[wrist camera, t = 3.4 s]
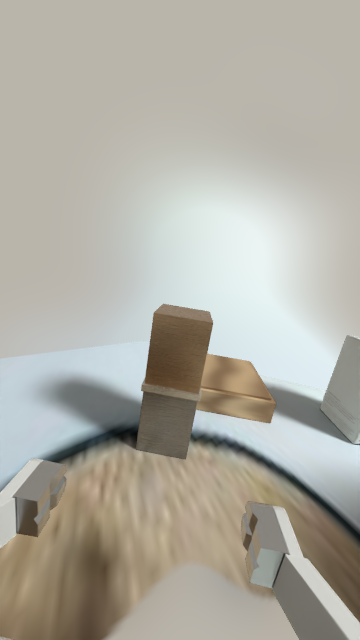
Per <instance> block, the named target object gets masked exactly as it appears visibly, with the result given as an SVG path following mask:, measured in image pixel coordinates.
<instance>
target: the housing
mask: <svg viewBox="0 0 360 640" xmlns="http://www.w3.org/2000/svg"><path fill="white" fill-rule="evenodd" d="M212 325H213V321H212V318H211V315H210V312H208V311H202V310H196V309H190V308H184V307H179V306H173V305H167V304H163V305H161V306H160V307H159V308H158V309H157V310H156V311H155V312H154V316H153V323H152V331H151V339H150V346H149V354H148V362H147V369H146V377H145V379H144V381H143V383H142V387H141V391H144V392H143V400H142V407H141V415H140V423H139V430H138V438H137V446H136V450H140V451H146V452H151V453H156V454H161V455H166V456H171V457H176V458H181V459H186V456H187V451H188V446H189V441H190V436H191V431H192V426H193V421H194V416H195V411H196V406H197V401H200V399H201V381H202V376H203V371H204V366H205V361H206V356H207V351H208V346H209V341H210V335H211V331H212Z"/></svg>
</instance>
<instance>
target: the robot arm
mask: <svg viewBox="0 0 360 640" xmlns="http://www.w3.org/2000/svg"><path fill="white" fill-rule="evenodd" d="M66 471H67V468H66V465H63V464H58V463H54V462H50V461H45V460H41V459H36V458H33V459H31V460H30V461H28V462H27V464H26V465H25V466H24V467H23V468H22V469H21V470H20V471H19V472H18V474H17V475H16V476H15V477H14V478H13V479H12V480H11V481H10V482H9V484H8V485H7V486H6V487H5V488H4V489H3V490H2V491H1V492H0V548H1V547H3V546H4V545H5V544H6V543H7V542H9V541H10V540H11V539H12V538H13V537H15V536H16V533H17V534H23V535H28V536H34V537H38V536H39V534H40V533H41V531H42V529H43V528H44V526H45V524H46V523H47V521H48V519H49V517H50V510H52V509H53V508H54V507H56V506H57V504H58V503H59V501H60V499H61V497H62V495H63V493H64V490H65V486H66V478H65V477H64V474H65V473H66ZM245 509H246V513H245V514H244V515H243V517H242V521H241V535H242V542H243V545H244V547H245V549H246V550H247V555H246V559H245V560H246V565H247V571H248V577H249V582H250V583H252V584H256V585H260V586H264V587H268V588H272V591H273V593H274V594H275V596H276V598H277V600H278V602H279V603H280V605H281V607H282V609H283V611H284V613H285V614H286V616H287V618H288V620H289V622H290V623H291V625H292V627H293V629H294V631H295V633H296V634H297V636H298V638H299V640H360V623H359V621H358V620H357V619H356V618H355V616H354V615H353V614H352V613H351V611H350V610H349V609H348V608H347V607H346V605H345V604H344V603H343V602H342V600H341V599H340V598H339V597H338V595H337V594H336V593H335V592H334V591H333V589H332V588H331V587H330V586H329V584H328V583H327V582H326V581H325V579H324V578H323V577H322V576H321V575H320V573H319V572H318V571H317V570H316V568H315V567H314V566H313V565H312V563H311V562H310V561H309V560H308V559H307V558H304V557H303V554H302V552H301V549H300V547H299V544H298V541H297V539H296V536H295V534H294V531H293V528H292V526H291V523H290V520H289V518H288V515H287V513H286V511H285V509H284V508H282V507H277V506H271V505H268V504H263V503H257V502H252V501H248V502H247V503H246V506H245ZM0 640H14V639H9V638H5V637H1V636H0Z"/></svg>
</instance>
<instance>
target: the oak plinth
mask: <svg viewBox="0 0 360 640" xmlns="http://www.w3.org/2000/svg"><path fill="white" fill-rule="evenodd" d="M275 406H276V403H275V401H274V399H273V398H272V396H271V394H270V393H269V391H268V389H267V388H266V386H265V384H264V383H263V381H262V379H261V378H260V376H259V375H258V373H257V371H256V370H255V368H254V366H253V365H252V363H251V362H249V361H244V360H239V359H233V358H228V357H222V356H217V355H210V354H207V356H206V361H205V366H204V371H203V376H202V381H201V399H200V401H197V406H196V409H197V410H202V411H207V412H213V413H218V414H223V415H229V416H234V417H239V418H245V419H250V420H255V421H261V422H266V423H271V419H272V416H273V413H274V409H275Z"/></svg>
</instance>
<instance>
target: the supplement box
mask: <svg viewBox="0 0 360 640" xmlns="http://www.w3.org/2000/svg"><path fill="white" fill-rule="evenodd" d="M320 409H321V410H322V411H323V412H324V413H325V415H326V416H327V417H328V418H329V419H330V420H331V421H332V422H333V423H334V424H335V425H336V426H337V428H338V429H339V430H340V431H341V432H342V433H343V434H344V435H345V436H346V437H347V438H348V439H349V440H350V441H351V442H352V443H353V444H360V337H356V336H350V335H347V336H346V339H345V341H344V344H343V347H342V350H341V352H340V355H339V358H338V360H337V363H336V366H335V368H334V371H333V374H332V377H331V380H330V382H329V385H328V388H327V390H326V393H325V396H324V398H323V401H322V404H321V407H320Z"/></svg>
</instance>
